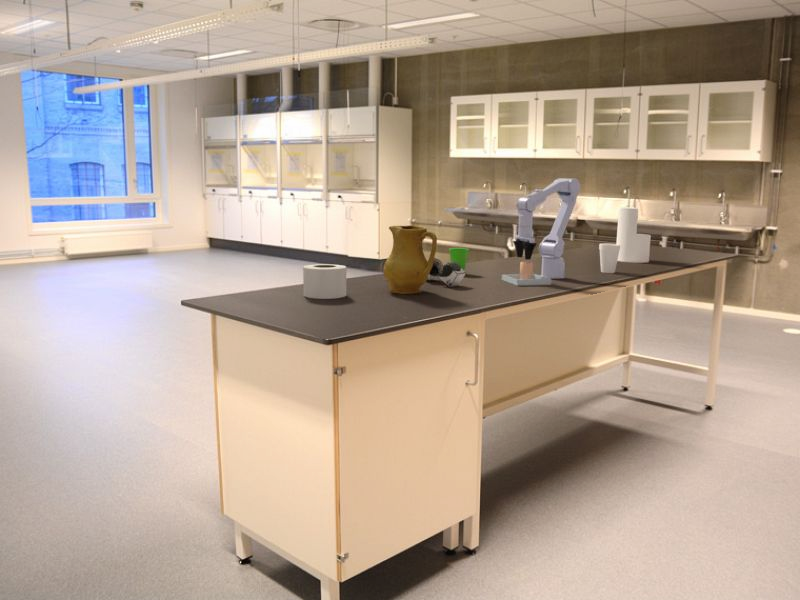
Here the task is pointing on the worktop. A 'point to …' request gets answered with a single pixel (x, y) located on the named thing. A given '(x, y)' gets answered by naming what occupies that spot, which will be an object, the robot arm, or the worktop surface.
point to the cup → (459, 256)
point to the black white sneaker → (447, 272)
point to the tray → (535, 280)
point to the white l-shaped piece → (631, 237)
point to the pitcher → (408, 259)
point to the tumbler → (526, 270)
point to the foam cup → (608, 257)
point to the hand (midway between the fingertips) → (523, 258)
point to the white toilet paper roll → (324, 281)
